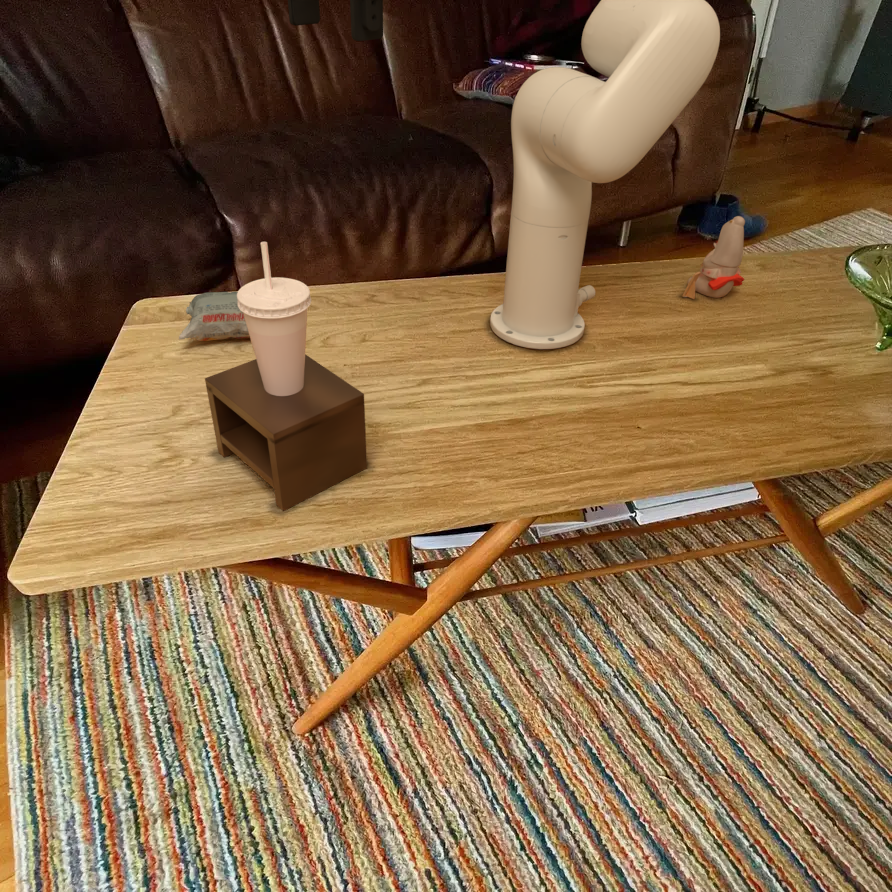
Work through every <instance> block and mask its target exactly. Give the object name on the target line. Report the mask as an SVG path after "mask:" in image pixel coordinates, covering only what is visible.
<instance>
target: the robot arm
mask: <svg viewBox="0 0 892 892" xmlns="http://www.w3.org/2000/svg"><path fill="white" fill-rule="evenodd" d="M349 6H350V7H349V8H350V33H351V34H350V37H351V39H352V40H354V42H355V41H356V42H364V41H371V40H372V41H373V40H380V39H382V38H383V37H384V0H349ZM287 7H288V19H289V20H288V21H289V23H290V25H292V26H306V25H307V26H308V25H316V24H319V23H320V21H321V11H320V0H287ZM581 35H582V36H581V43H580V45H581V51H582V54H583V57H584V59H585V61H586V62H587V63H588V65H589V66H590V67H591V68H592V69H593V70H594V71H596V72H597V73H599V74H601V75H603V76H605V77H607V78H608V79H607V80H606V81H604V80H601V79H599V78H597V77H595V76H592V75H590V74H587V73H585V72H581V71H578V70H576V69H573V68H569V67H564V66H563V67H562V66H552V67H546V68H542V69H540V70H538V71H536V72H534V73H533V74H531V75H530V76H529V77H528V78H527V79H526V80H525V81H524V82H523V84H521V86H520V88H519V89H518V92H517V94H516V96H515V98H514V101H513V104H512V108H511V117H510V132H511V144H512V145H511V146H512V157H513V159H512V160H513V161H512V162H513V181H512V182H513V183H512V197H511V198H512V199H511V210H510V220H509V230H508V232H509V233H508V242H507V253H506V254H507V257H506V268H505V278H504V289H503V302H502V303H501V304H499V305H498V306H496V307H495V308H494V309H493V310H492V312H491V313H490V318H489V320H490V321H489V326H490V328H491V330H492V332H493V333H494V335H496V336H497V337H499V338H500V339H501V340H503V341H505V342H507V343H509V344H511V345H514V346H518V347H522V348H527V349H533V350H554V349H561V348H566V347H569V346H571V345H573V344H575V343H576V342H578V341H580V339H581V338H582V337H583V335H584V333H585V327H586V326H585V325H586V323H585V320H584V318H583V317H582V315H581V314H580V313H579V312H578V311H579V308H580V307H581V306H582V305H583V303H585V302H587V301H589V300H592V299H594V298H595V297H596V289H595V288H594V286H593V285H591V284H588V285H585V286H583V287H580V282H581V281H580V280H581V272H582V266H583V260H584V254H585V253H584V252H585V248H586V247H585V246H586V240H587V234H588V233H587V232H588V227H589V221H590V220H589V219H590V216H591V215H590V214H591V208H592V196H593V191H592V190H593V187H592V186H593V183H595V184H607V183H611V182H614V181H617V180H619V179H621V178H622V177H624V176H626V175H627V174H628V173H629V172H630V171H632V170H633V169H634V168H635V167H636V166H637V165H638V164H639V163H640V162H641V161H642V159H643V158H644V157H645V156H646V155H647V154H648V153H649V151H650V150H651V149H652V148H653V147H654V146H655V144H656V143H657V142H658V140H660V138H661V137H662V136H663V135H664V134H665V132H666V131H667V130H668V129H669V127H670V126H671V125H672V124H673V122H674V121H675V120H676V119H677V117H679V115H680V114H681V113H682V112H683V110H684V109H685V108H686V106H688V104H689V103H690V102H691V100H692V99H694V97H695V96H696V94H697V93H698V91H699V90H700V89H701V87H702V86H703V85H704V83H705V82H706V80H707V78H708V77H709V74H710V73H711V71H712V68H713V66H714V64H715V62H716V58H717V55H718V52H719V47H720V42H721V41H720V40H721V28H720V21H719V18H718V16H717V13H716V11H715V10H714V8H713V7H712V6H711V5H710V4H709V2H708V1H706V0H600V1H599V2H598V4H597V5H596V6H595V8H594V9H593V11H592V12H591V14H590V15H589V17H588V19H587V20H586V22H585V25H584V28H583V31H582V34H581Z"/></svg>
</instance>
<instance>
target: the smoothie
mask: <svg viewBox="0 0 892 892" xmlns="http://www.w3.org/2000/svg"><path fill="white" fill-rule="evenodd" d="M260 249H261V257H262V266H263V275H264V278H260V279H255V280H253V281H250V282H248V283H246V284H244V285H243V286H241V287H240V288H239V289H238V291H237V292H238V293H237V299H238V308H239V309H240V311H242V312H243V313H244V317H245V321H246V325H247V328H248V331H249V335H250V338H249V339H250V342H251V345H252V349H253V353H254V356H255V359H256V360H257V363H258V367H259V371H260V374H261V378H262V381H263V385H264V388H265V390H266V392H268V393H269V394H271V395H275V396H289V395H293V394H295V393H297V392H299V391H300V390H301V389H302V388H303V386H304V368H305V354H306V344H307V327H308V326H307V324H308V308H309V307H310V306H311V304H312V297H311V290H310V287H308V285H307V284H305V283H304V282H303V281H300V280H298V279H294V278H290V277H289V278H288V277H277V276H275V277H272V273H271V264H270V256H269V246H268V242H267V241H261V242H260Z"/></svg>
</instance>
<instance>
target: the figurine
mask: <svg viewBox="0 0 892 892" xmlns="http://www.w3.org/2000/svg"><path fill="white" fill-rule="evenodd" d="M745 224H746V220H745V218H744V217H743V216H741V215H737V216H734V217H733V218H732V219H730V220H728V221H727V222H726V223H724V224H723V225H722V227H721V230H720V233H719V236H718V239H717V240H715V242H713V246H714V249H713V250H711V251H709V253H707V254H706V255H705V257H704V259H703V260H702V263H701V265H700V267H699V271H697V272H694V273H693V275H692V276H690V277H689V278H688V279H687V281H686V282H687V283H686V284H687V285H686V288H685V290H684V291H683V293H682V294H681V297H683V298H690V299H692V300H695V298H696V292H697V293H699V294H701V295H704V296H706V297H709V298H713V299H714V298H716V299H717V298H718V299H719V298H724V297H725V296H727V295H729V293H730V292H731V290H732V288H733V287H739V286H742V285H743V282H745V278H744V277H743V276H742V275H740V274H742V270H741V268H740V267H739V266H741V264H742V260H743V257H744V256H743V255H744V244H745V243H744V241H745V240H744V239H745V228H744V226H745Z"/></svg>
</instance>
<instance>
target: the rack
mask: <svg viewBox="0 0 892 892" xmlns="http://www.w3.org/2000/svg"><path fill="white" fill-rule="evenodd" d="M204 382H205V387H206V393H207V398H208V403H209V409H210V415H211V419H212V425H213V430H214V436H215V441H216V446H217V452H218V453H219V454H220V455H221V456H222V457H223V458H227V457H229V456H231V455H234V454H235V455H236V456H237V457H238V458H239V459H240V460H241V461H243V462H244V463H245V464H246V465H247V466H248V467H249V468H250V469H251V470H253V472H255V473H256V474H257V475H258V476H259V477H260V478H261V479H263V480H264V481H265V482H266V483H267V484H268V485H270V486H271V488H273V491H274V498H275V504H276V506H277V507H278V508H279V509H280V510H281V511H282V512H285V511H287V510H289V509H290V508H292V507H294V506H296V505H299V504H300V503H302V502H304V501H306V500H308V499H310V498H312V497H314V496H316V495H317V494H319V493H322V492H323V491H325V490H328V489H329V488H331V487H333V486H336V485H337V484H338V483H342V482H343V481H344V480H347V479H349V478H350V477H352V476H355V475H356V474H359V473H360V472H362V471H364V470H367V468H368V461H367V458H368V457H367V435H366V409H365V394H364V393H363V392H362V391H361V390H359V389H358V388H356V387H355V386H353V385H352V384H350V383H349V382H347V381H346V380H344V379H343V378H341V376H339V375H337V374H335V373H334V372H333V371H331V370H330V369H328V368H327V367H325V366H324V365H322V364H321V363H320V362H318V361H316V360H314V359H313V358H312V357H310V356H309V355H307V354H306V353H305V368H304V386H303V388H302V389H301V390H300V391H299V392H297V393H295V394H293V395H289V396H275V395H271V394H269V393H268V392H266V390H265V388H264V385H263V381H262V378H261V374H260V371H259V367H258V363H257V360H256V358H255V359H252V360H250V361H247V362H244V363H242V364H239V365H236V366H233V367H231V368H229V369H226V370H223V371H220V372H218V373H215V374H212V375H210V376H208V377H205V378H204Z"/></svg>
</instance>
